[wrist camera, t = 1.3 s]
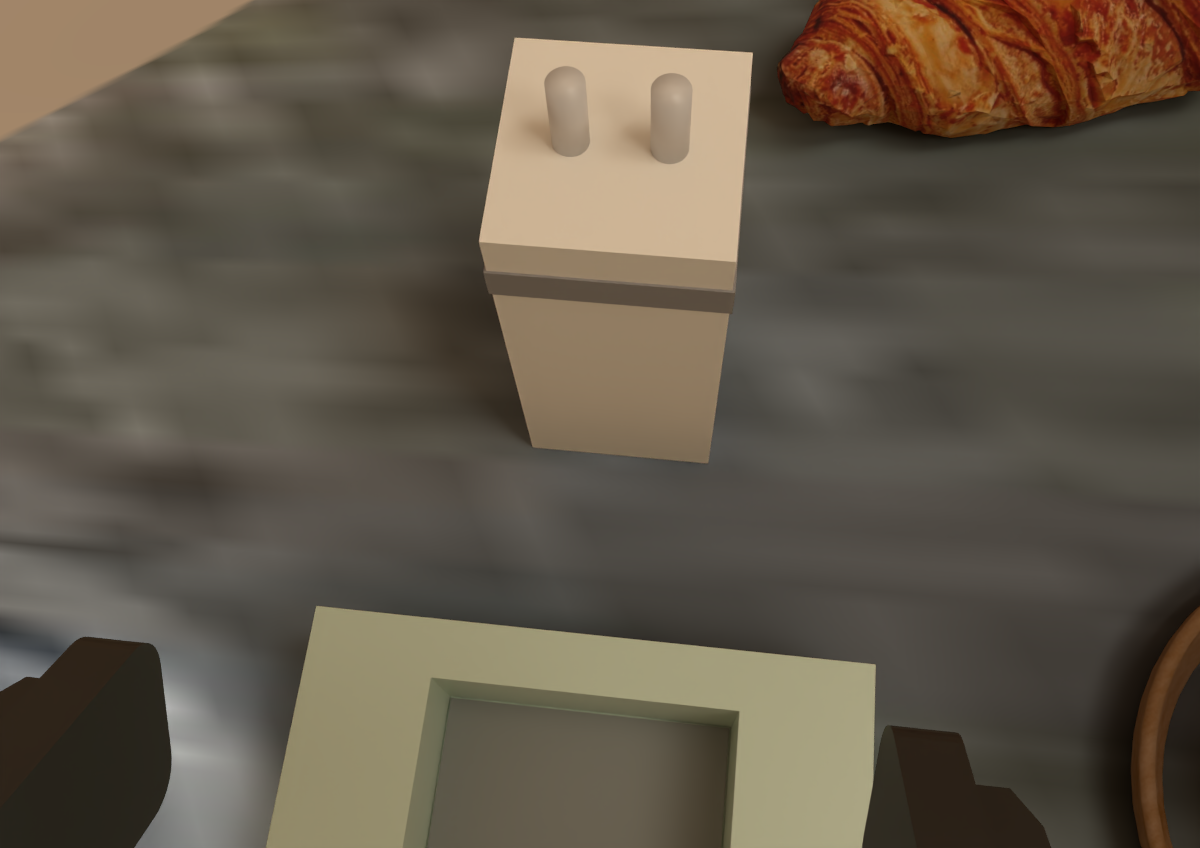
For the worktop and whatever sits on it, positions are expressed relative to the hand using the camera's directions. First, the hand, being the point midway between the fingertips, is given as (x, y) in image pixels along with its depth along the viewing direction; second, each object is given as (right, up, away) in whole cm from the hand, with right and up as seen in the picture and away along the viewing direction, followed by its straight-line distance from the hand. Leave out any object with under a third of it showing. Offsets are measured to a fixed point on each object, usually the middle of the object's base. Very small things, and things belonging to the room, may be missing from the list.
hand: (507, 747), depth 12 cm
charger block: (+2, +5, +17) cm, 18 cm away
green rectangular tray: (0, -6, +13) cm, 14 cm away
